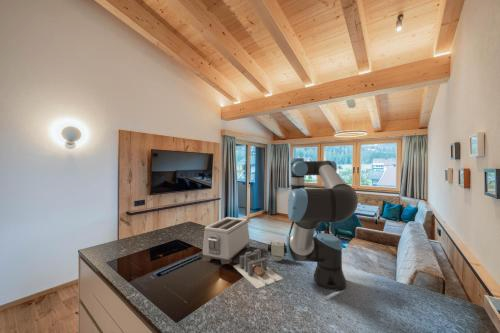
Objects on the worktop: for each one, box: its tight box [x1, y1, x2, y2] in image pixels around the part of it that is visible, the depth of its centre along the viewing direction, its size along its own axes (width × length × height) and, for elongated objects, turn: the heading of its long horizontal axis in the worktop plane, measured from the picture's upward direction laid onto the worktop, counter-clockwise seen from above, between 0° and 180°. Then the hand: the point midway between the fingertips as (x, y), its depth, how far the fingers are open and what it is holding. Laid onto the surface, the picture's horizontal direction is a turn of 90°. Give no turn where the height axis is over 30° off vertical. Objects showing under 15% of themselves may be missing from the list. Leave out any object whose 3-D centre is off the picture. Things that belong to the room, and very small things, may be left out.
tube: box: [247, 257, 265, 277], centre depth 116 cm, size 18×4×4 cm, turn 31°
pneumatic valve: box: [267, 241, 287, 262], centre depth 127 cm, size 6×12×12 cm, turn 78°
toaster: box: [202, 216, 251, 265], centre depth 139 cm, size 19×34×21 cm, turn 156°
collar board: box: [232, 248, 284, 289], centre depth 113 cm, size 26×16×11 cm, turn 31°
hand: (298, 224), depth 121 cm, fingers closed
